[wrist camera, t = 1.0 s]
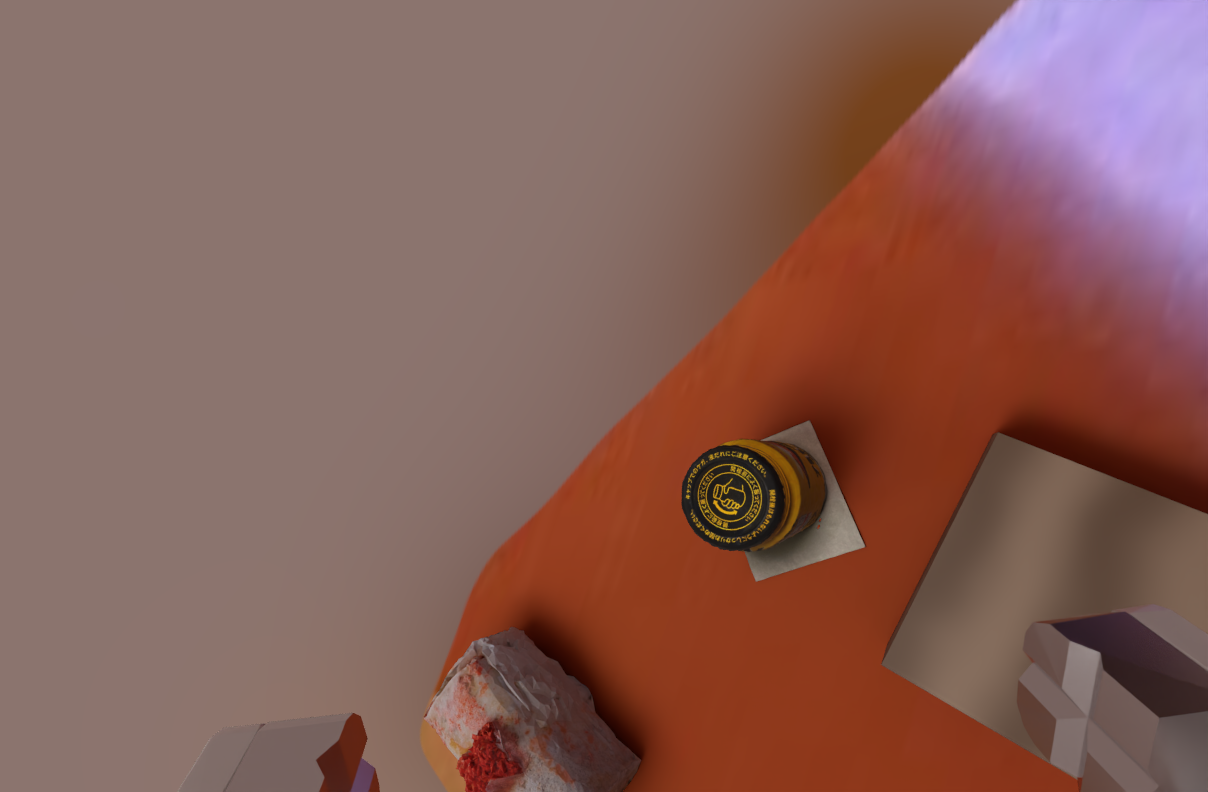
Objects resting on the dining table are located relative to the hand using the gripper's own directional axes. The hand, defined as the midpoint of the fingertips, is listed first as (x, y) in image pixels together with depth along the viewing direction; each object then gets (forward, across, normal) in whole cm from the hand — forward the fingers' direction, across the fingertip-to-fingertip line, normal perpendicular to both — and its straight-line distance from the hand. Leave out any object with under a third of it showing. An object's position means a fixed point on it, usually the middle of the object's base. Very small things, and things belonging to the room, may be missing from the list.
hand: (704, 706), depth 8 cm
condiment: (+31, -12, +15) cm, 37 cm away
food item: (+33, +4, +32) cm, 46 cm away
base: (+21, -24, +18) cm, 37 cm away
